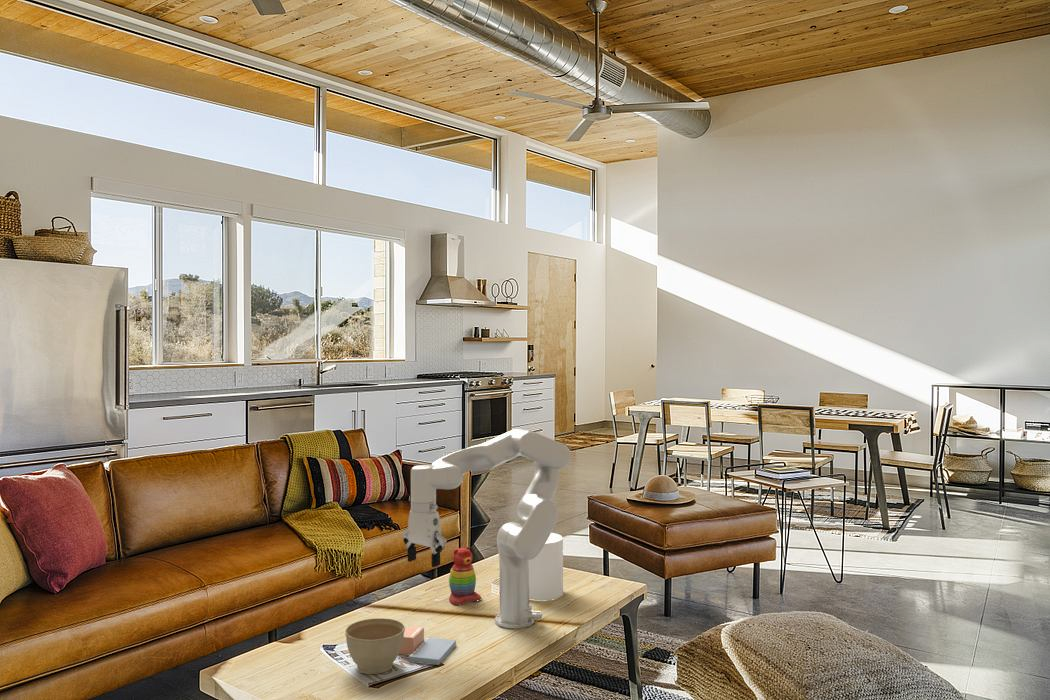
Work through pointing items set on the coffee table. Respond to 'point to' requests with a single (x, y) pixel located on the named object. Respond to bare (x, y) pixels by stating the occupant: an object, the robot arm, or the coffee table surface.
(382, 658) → the planter bowl
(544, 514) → the robot arm
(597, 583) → the coffee table surface
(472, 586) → the stacking bear
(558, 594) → the canister
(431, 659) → the board
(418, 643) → the peach rectangular block
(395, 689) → the coffee table surface
